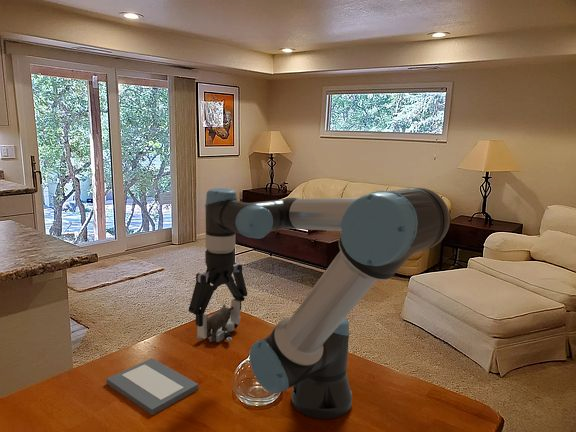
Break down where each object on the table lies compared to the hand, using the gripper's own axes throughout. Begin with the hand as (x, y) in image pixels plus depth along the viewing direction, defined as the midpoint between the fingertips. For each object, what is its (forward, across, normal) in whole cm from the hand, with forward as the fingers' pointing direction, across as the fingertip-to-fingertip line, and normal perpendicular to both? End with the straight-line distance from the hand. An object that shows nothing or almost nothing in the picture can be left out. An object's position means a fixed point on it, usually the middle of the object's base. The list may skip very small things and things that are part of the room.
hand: (219, 329), depth 116 cm
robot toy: (+15, -17, -20) cm, 30 cm away
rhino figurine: (0, -1, 0) cm, 1 cm away
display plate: (+15, +14, -10) cm, 22 cm away
